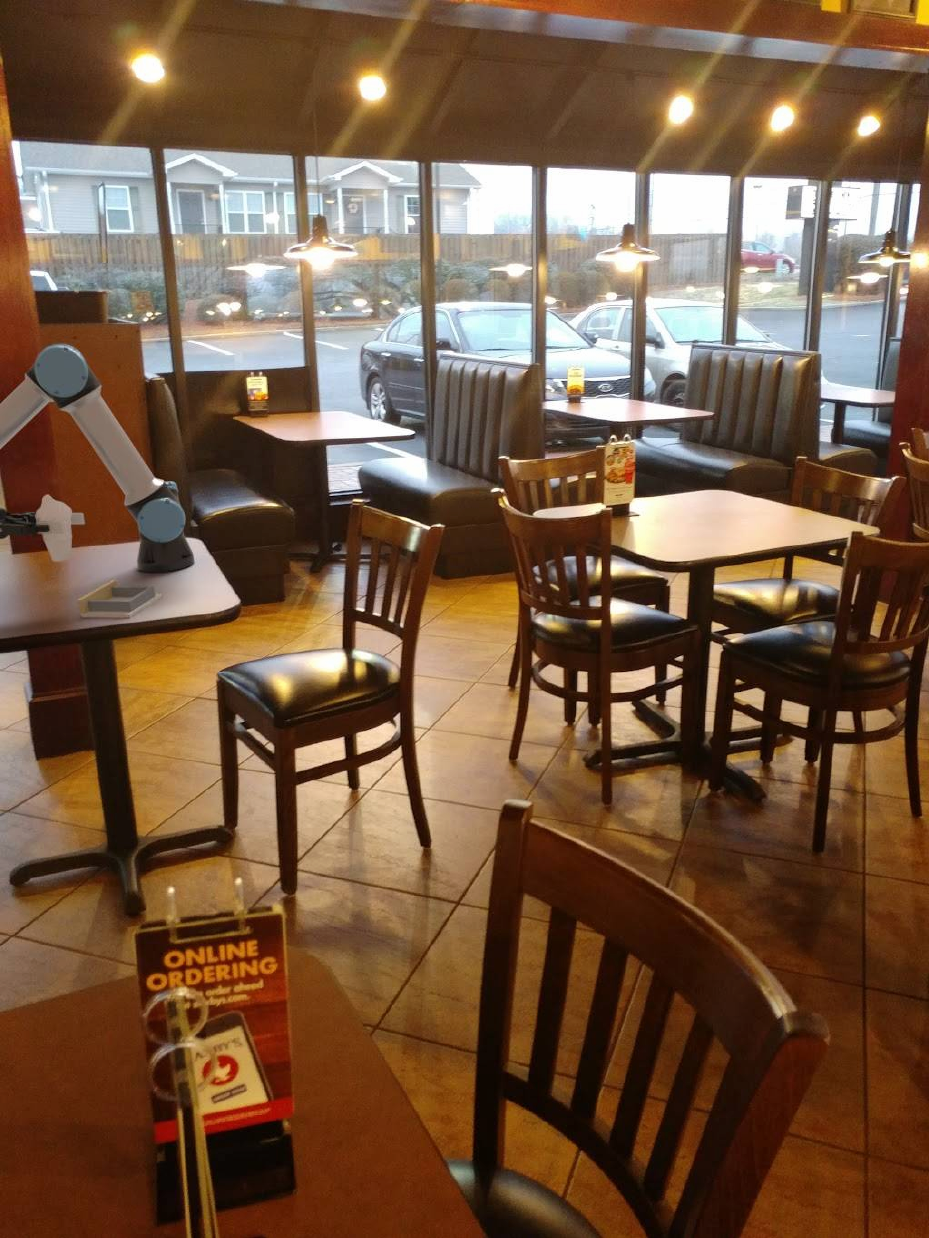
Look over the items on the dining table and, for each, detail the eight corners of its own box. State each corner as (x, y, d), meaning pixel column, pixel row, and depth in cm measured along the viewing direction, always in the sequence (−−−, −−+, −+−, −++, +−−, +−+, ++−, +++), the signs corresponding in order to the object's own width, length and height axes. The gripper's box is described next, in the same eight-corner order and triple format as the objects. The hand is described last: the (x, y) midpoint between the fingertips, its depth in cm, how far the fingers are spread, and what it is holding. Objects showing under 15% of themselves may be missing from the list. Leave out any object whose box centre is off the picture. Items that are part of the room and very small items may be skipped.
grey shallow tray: (162, 596, 253) (159, 580, 251) (130, 617, 238) (127, 600, 236) (115, 596, 255) (112, 579, 254) (80, 617, 240) (77, 599, 239)
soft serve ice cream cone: (82, 553, 250) (71, 489, 245) (77, 562, 242) (65, 496, 237) (46, 557, 248) (34, 492, 243) (40, 565, 241) (27, 499, 235)
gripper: (17, 528, 257) (99, 527, 252) (-37, 550, 237) (51, 550, 233) (11, 498, 254) (94, 498, 250) (-44, 518, 235) (44, 518, 230)
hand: (73, 523), depth 241 cm, fingers closed on soft serve ice cream cone, 8 cm apart
